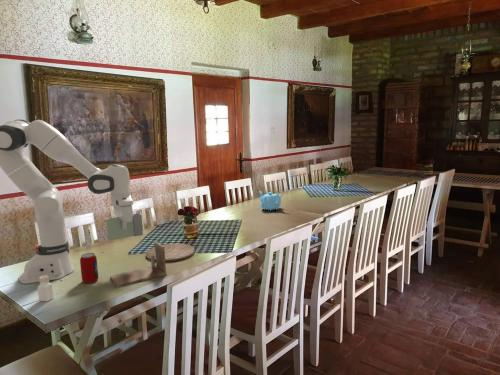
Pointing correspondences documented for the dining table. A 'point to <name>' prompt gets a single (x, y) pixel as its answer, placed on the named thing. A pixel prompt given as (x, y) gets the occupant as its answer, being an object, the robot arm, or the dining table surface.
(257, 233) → the dining table surface
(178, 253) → the trivet
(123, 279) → the cabinet base
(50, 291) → the pepper shaker
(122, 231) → the pale green grey block
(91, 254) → the beverage can
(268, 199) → the teapot
